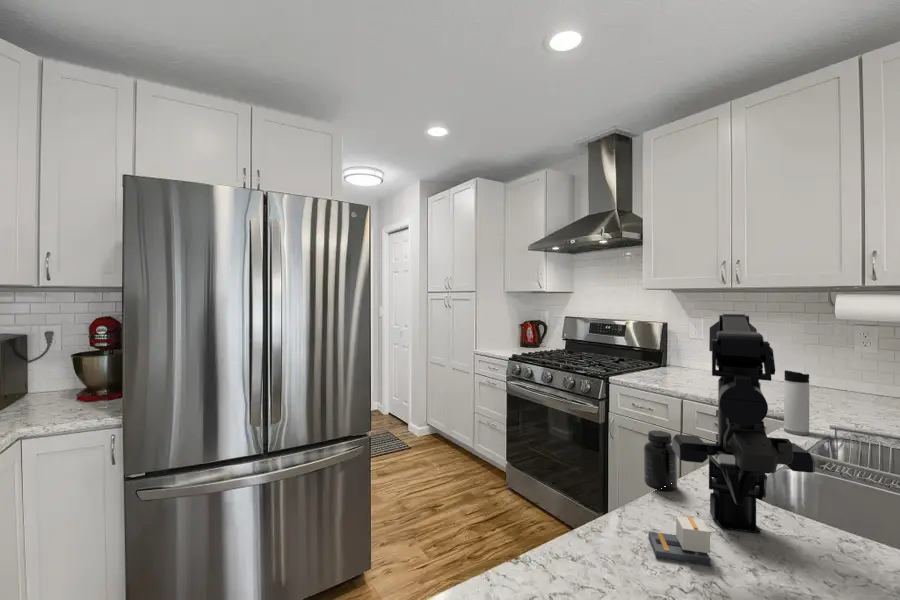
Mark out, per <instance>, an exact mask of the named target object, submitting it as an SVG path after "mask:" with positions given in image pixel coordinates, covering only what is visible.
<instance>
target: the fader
mask: <svg viewBox="0 0 900 600" xmlns="http://www.w3.org/2000/svg"><path fill="white" fill-rule="evenodd" d="M675 518H676V519H675V520H676V521H675V523H676V524H675V525H676V526H675V529H676V530H675V535H676V537H677V539H678V541H679V543H680V545H681V547H682V549H683V550H689V551H696V552H704V553H707V554H711V531H710V529H709V528H708V526H707V525H706V523H705V522H704V520H703V519H701V518H693V517H692V516H686V517H685V516H676V517H675Z"/></svg>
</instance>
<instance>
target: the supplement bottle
mask: <svg viewBox="0 0 900 600" xmlns="http://www.w3.org/2000/svg"><path fill="white" fill-rule="evenodd" d="M647 432H648V435H647V442H646V443H645V444H644V446H643V479H644V483H645V485H647V487H648V488H650V489H651V488H652V489H654V490H658V489H660V490H658V491H662V492H671V491H674V490H676V489H677V487H678V456H677V455H676V453H675V452H674V451H673V449H672V434H671V433H669V432H668V431H663V430H658V429H655V430H649V431H647ZM671 483H672V484H671ZM664 486H666V487H664ZM661 488H662V489H661Z"/></svg>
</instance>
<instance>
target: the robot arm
mask: <svg viewBox="0 0 900 600" xmlns="http://www.w3.org/2000/svg"><path fill="white" fill-rule="evenodd" d="M718 316H719V317H718V318H719V319H718V321H717V322H715V323H714V324H713V325H711V326H710V327H709V348H708V349H709V352H711V376H712V377H719V379H718V380H717V382H718V384H717V385H718V386H717V387H718V390H717V391H718V393H717V394H718V395H717V396H718V401H717V402H718V405H717V409H715V416H716V418H717V424H718V425H717V433H715V440H716V442H715V443H709V442H704V440H702V439H701V438H700V436H698V435H690V434H675V435H674V436H673V437H672V438H671V440H672V443H671V445H672V449H673V451H674V452H675V453H676V455H677V458H678V459H679V461H683V462H689V463H699V464H702V463H704V462H705V461H706V460H707V459H708V490H711V491H712V492H710V494H709V499H710V500H709V514H710V515H711V516H712V517H713V518H714V519H713V520H715V521H716V523H717V524H718V525H719V527H720V528H722V529H725V530H726V529H727V530H734V531H735V530H736V531H742V532H743V531H744V532H749V533H750V532H751V533H761V529H760V527H759V525H757V500H760V501H763V498H766V495H767V493H766V492H767V482H768V475H767V474H774V473H776V472H777V467H778V465H785V466H787V467H788V469H790V470H791V471H792V472H799V473H801V472H802V473H811V474H814V473H816V461H815V458H814V455H813V454H812V453H810V452H809V451H807V450H806V449H804V448H803V447H801V446H799V445H798V444H796V443H794V442H791V441H790V439H789V438H783V437H771V436H768V435H767V433H766V430H765V427H766V426H765V421H764V420H765V418H766V416H767V414H768V411H769V406H768V402H767V400H766V398H765V396H764V394H763V392H762V390H761V386H762V385H761V382H760V381H769V382H771V381H772V376H775V374H776V362H775V356H774V349H773V348H772V347H771V345H770V344H771V343H769V341H768V340H764V335H763V334H761V333H760V332H757V331H758V330H757V328H756V327H755V326H754V325H753V324H751V323H750V315H746V314H744V313H742V314H741V313H736V314H735V313H723V314H719V315H718ZM717 368H718V369H717Z"/></svg>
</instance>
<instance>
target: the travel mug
mask: <svg viewBox="0 0 900 600" xmlns="http://www.w3.org/2000/svg"><path fill="white" fill-rule="evenodd" d="M783 375H784V379H783V380H784V383H783V384H784V385H783V390H784V391H783V393H784V394H783V396H784V397H783V431H784V432H786V433H788V434H791V435H794V436H808V435H810V374H809V373H802V372H797V371H792V370H787V369H786V370H784V374H783Z"/></svg>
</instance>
